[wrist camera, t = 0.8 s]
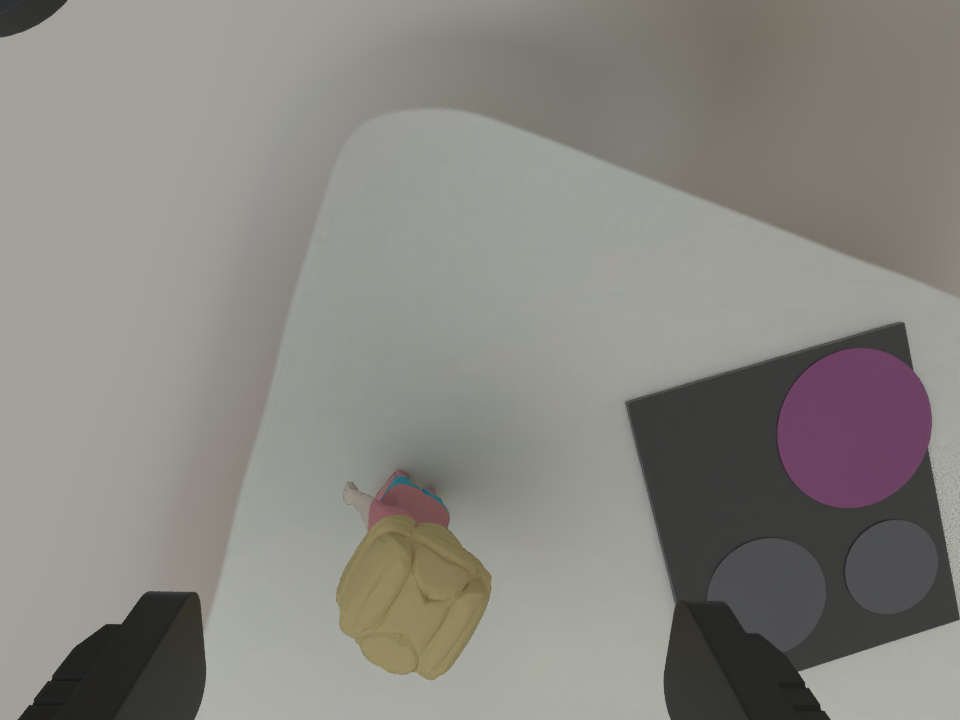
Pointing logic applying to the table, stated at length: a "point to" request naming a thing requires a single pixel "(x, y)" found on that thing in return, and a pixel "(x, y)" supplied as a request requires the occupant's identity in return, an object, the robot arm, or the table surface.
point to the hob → (803, 496)
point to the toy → (410, 582)
